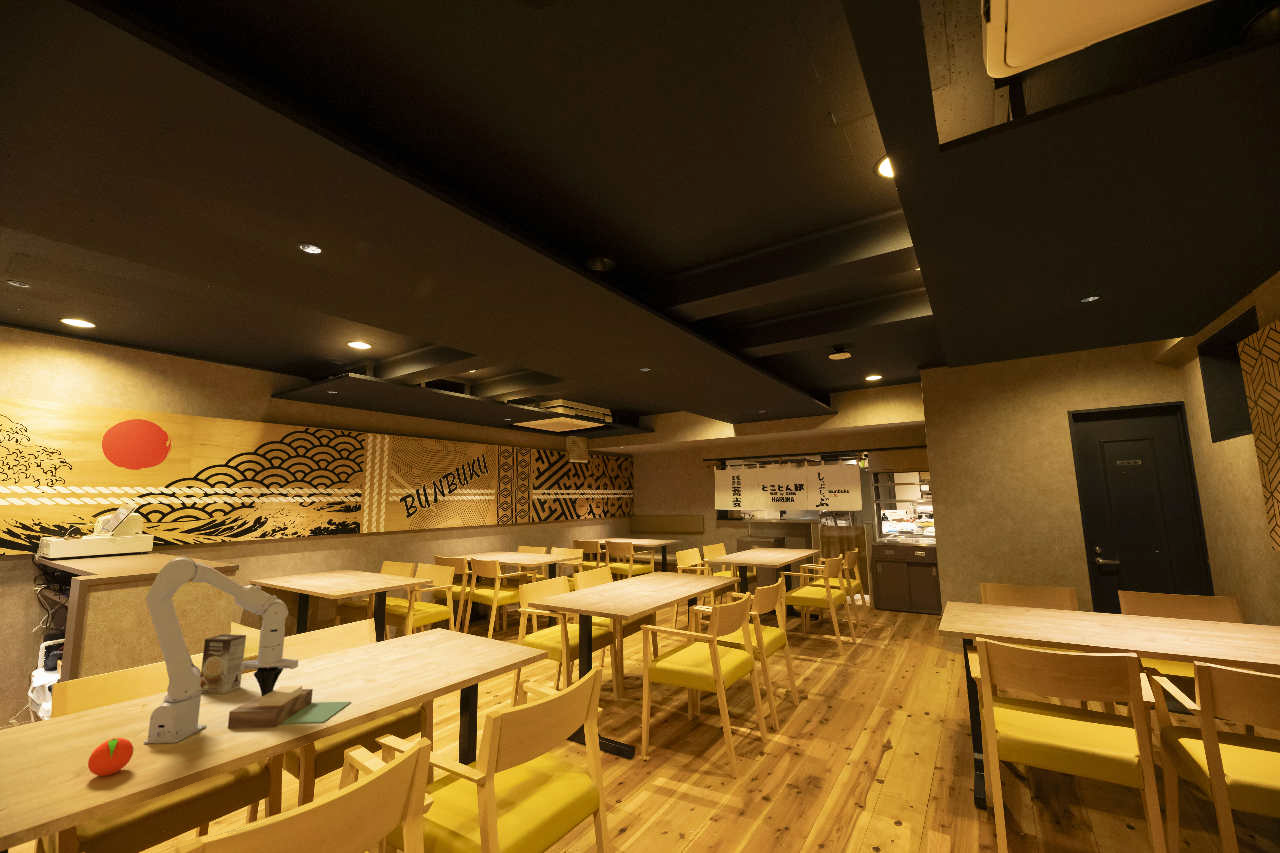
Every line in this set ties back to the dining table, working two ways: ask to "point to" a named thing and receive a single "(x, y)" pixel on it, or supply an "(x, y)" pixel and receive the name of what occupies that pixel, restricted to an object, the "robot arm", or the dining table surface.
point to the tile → (280, 696)
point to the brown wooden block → (267, 712)
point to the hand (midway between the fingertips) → (266, 696)
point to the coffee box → (222, 663)
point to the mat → (316, 712)
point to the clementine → (110, 756)
